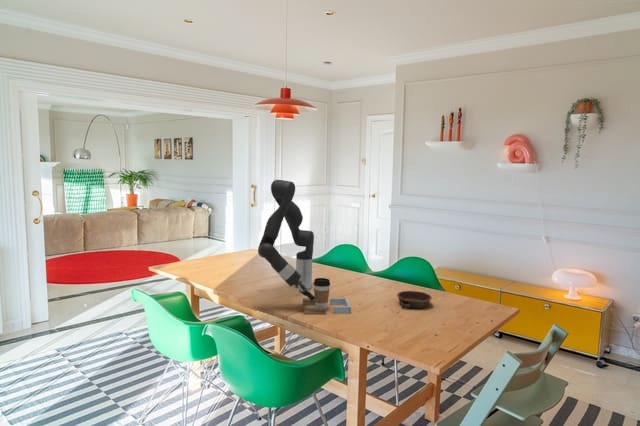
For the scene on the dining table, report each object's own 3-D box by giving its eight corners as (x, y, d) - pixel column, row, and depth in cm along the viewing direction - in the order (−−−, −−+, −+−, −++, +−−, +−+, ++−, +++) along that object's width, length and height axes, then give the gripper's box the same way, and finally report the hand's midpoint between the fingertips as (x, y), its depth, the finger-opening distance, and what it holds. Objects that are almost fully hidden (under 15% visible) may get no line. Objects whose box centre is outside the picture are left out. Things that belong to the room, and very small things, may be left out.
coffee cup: (315, 311, 213) (316, 281, 211) (310, 306, 221) (311, 277, 219) (331, 310, 215) (332, 280, 214) (326, 305, 223) (327, 276, 222)
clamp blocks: (302, 302, 226) (302, 298, 226) (321, 302, 227) (322, 298, 227) (304, 314, 209) (304, 309, 209) (325, 314, 210) (325, 309, 210)
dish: (387, 305, 227) (388, 295, 226) (410, 296, 243) (410, 287, 242) (417, 314, 215) (418, 304, 215) (439, 304, 231) (439, 295, 231)
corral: (330, 303, 226) (330, 298, 225) (346, 303, 227) (346, 298, 226) (333, 313, 212) (333, 307, 212) (350, 313, 213) (351, 307, 212)
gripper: (295, 272, 208) (319, 298, 210) (294, 266, 221) (317, 290, 224) (283, 283, 208) (308, 308, 211) (283, 276, 221) (307, 300, 224)
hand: (313, 299), depth 217 cm, fingers closed
